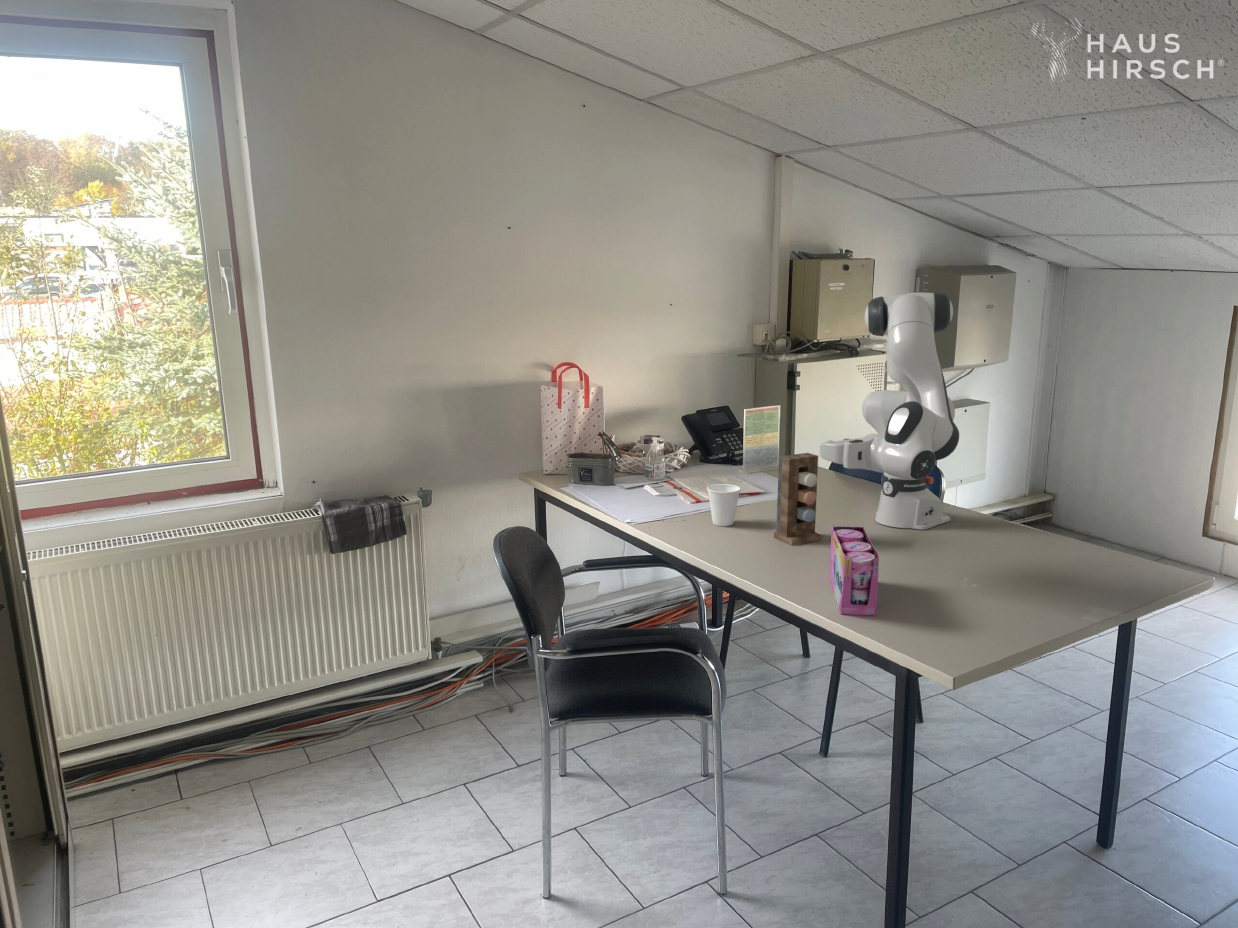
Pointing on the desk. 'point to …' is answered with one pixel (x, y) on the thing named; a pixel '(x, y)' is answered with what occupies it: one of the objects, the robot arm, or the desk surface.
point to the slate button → (806, 514)
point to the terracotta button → (806, 496)
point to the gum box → (854, 571)
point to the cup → (723, 503)
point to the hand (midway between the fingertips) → (836, 442)
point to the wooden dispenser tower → (795, 499)
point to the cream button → (807, 479)
